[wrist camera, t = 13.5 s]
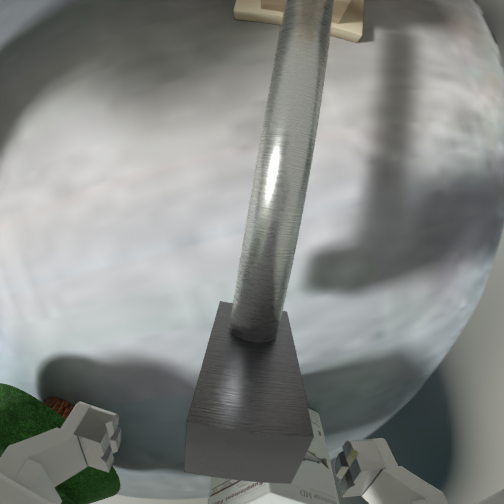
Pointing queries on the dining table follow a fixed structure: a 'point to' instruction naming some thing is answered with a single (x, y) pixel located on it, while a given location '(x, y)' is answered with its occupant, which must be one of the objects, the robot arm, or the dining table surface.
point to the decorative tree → (42, 420)
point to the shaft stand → (272, 7)
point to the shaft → (266, 283)
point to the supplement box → (280, 494)
